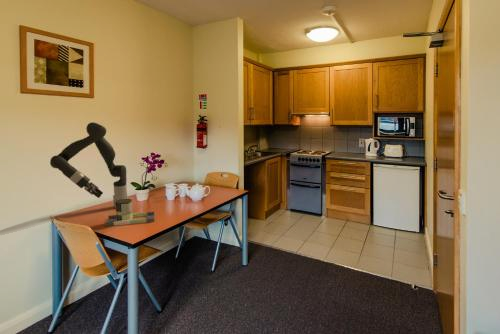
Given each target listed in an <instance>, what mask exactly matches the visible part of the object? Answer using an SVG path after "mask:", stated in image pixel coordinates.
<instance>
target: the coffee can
mask: <svg viewBox="0 0 500 334" xmlns="http://www.w3.org/2000/svg"><path fill="white" fill-rule="evenodd" d="M115 205H116V208H115V215H116V218H117V219H116V221H124V220H134V219H133V218H134V217H133V216H132V213H133V200H132V199H130V198H127V199H120V200H117V201H115Z"/></svg>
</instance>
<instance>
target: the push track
mask: <svg viewBox="0 0 500 334" xmlns="http://www.w3.org/2000/svg"><path fill="white" fill-rule="evenodd" d="M107 216H108V217H107V219H108V220H107V221H106V222H104V226H105V227H114V226H122V225H123V226H124V225H136V224H142V223H145V224H146V223H154V222H155V211H147V212H146V211H145V212H143V211H142V212H135V213H134V212H132V216H133V218H137V217H146V218H137V219H133V220H124V221H117V218H116V214H112V215H111V214H110V215H107Z"/></svg>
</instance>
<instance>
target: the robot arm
mask: <svg viewBox="0 0 500 334" xmlns="http://www.w3.org/2000/svg"><path fill="white" fill-rule="evenodd" d="M86 133H87V134H88V135H87V136H86V137H83V138H82V139H79V140H76V141H73V142H71V143H70V144H69V145H67V146H66V147H65V148H63V150H62V151H61V152H59V154H57V155H54V156H51V158H50V163H49V164H50V166H51V168H53V169H58V170H59V171H60V172H61V173H62V174H63V175H64V176H65V177H66V178H68V179H69V181H71V182H73V184H75V185H76V186H77V187H79V188H80V189H83V188H84V190H85V191H86V192H88V193H89V195H92V196H95V197H96V198H98V199H99V198H100V197H101V196H102V195H103V194H104V192H103V191H101V190H100V188H99V187H98V185H96V184H94V183H93V182H91V181H90V180H91V179H90V178H89V177H87V176H86V174H84V173H82V172H81V171H80V170H78V169H77V168H75V167H74V166H73V165H71V163H70V162H69V160H71V159H72V158H74V157H75V156H77V154H79V153H80V152H81V151H83V150H84V149H86V148H87V147H89V146H91V145H92V144H95V147H96V148H97V150H98V152H99V154H100V156H101V158H102V159H103V160H104V163H105V164H106V167H107V169H108V171H109V174H110V176H112V177H113V178H119V180H115V181H114V182H113V194H114V195H112V198H113V208H115V209H116V205H115V201H117V200H120V199H128V190H127V168H126V166H125V165H123V164H119V165H118V164H115V162H114V160H115V158H116V152H115V150H114V148H113V146H112V144H111V143H110V142H109V141H108V140H106V138H105V136H106V135H107V128H106V127H105V126H104V125H101V124H99V123H97V122H89V123H88V124H87V125H86Z"/></svg>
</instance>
